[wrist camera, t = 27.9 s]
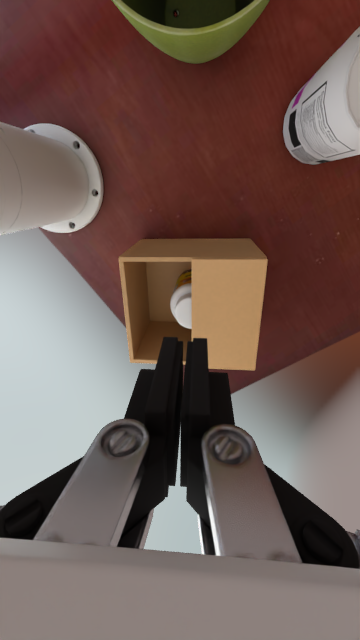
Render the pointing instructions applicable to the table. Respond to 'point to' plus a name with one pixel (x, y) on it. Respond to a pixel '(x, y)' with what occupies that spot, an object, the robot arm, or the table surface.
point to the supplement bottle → (183, 299)
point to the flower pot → (192, 24)
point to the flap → (228, 309)
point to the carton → (165, 287)
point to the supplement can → (327, 110)
